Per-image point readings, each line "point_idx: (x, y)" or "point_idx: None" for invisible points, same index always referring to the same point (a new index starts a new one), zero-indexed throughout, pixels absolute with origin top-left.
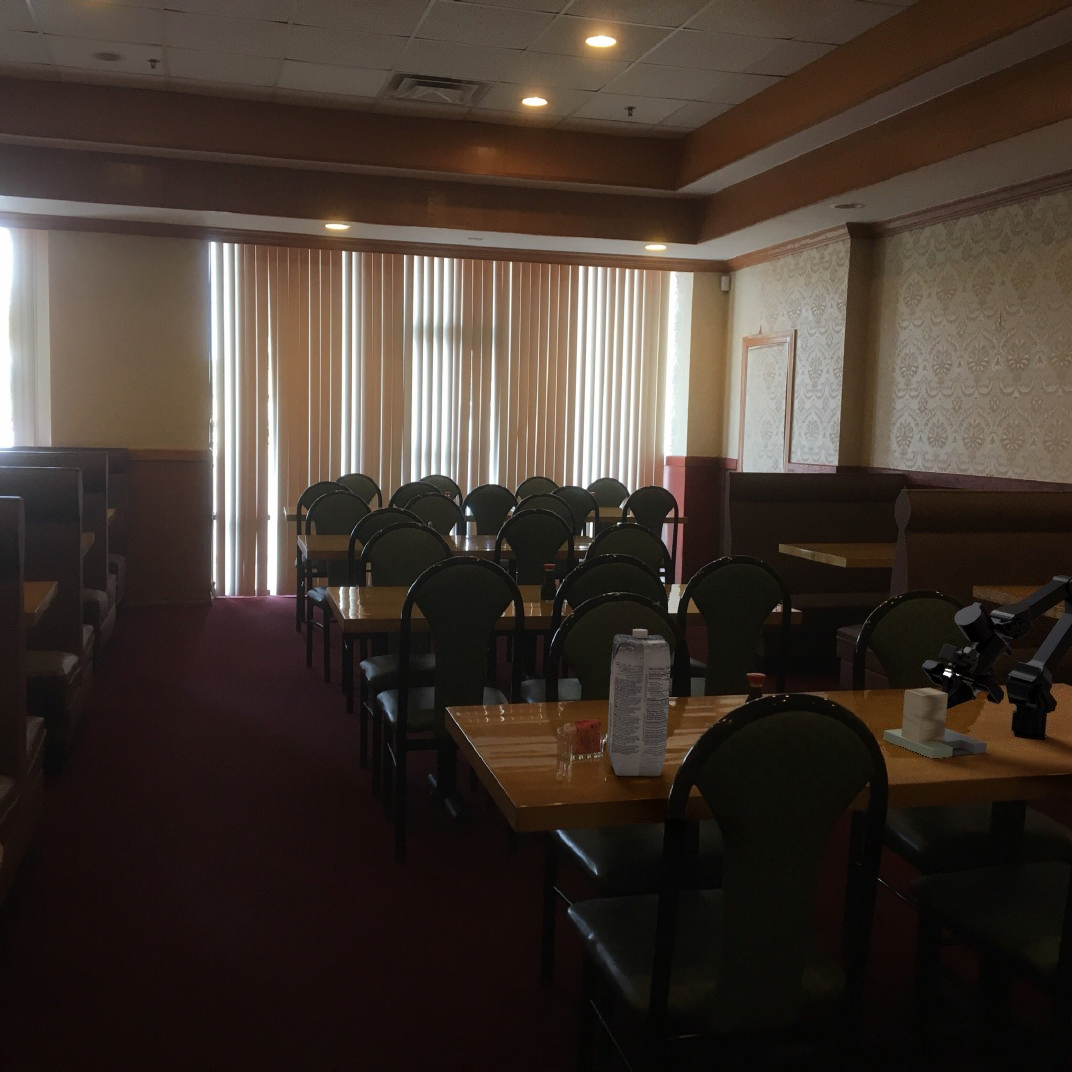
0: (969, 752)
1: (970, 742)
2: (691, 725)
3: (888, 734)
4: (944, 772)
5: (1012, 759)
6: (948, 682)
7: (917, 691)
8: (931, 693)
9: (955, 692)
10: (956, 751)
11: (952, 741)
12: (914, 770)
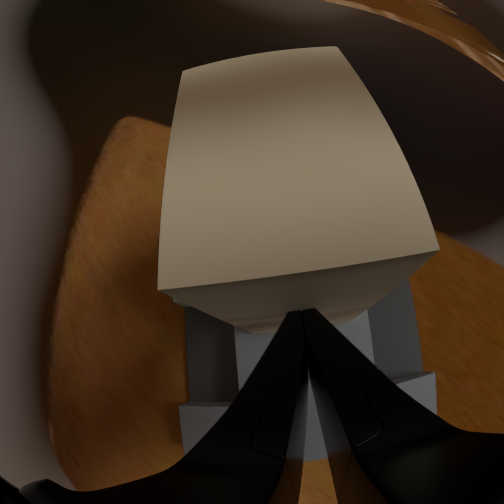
0: (194, 388)
1: (204, 414)
2: (414, 25)
3: None
4: (113, 206)
5: (132, 461)
6: (381, 495)
7: (293, 76)
8: (210, 130)
9: (199, 442)
10: (214, 353)
11: (237, 360)
12: (147, 154)
